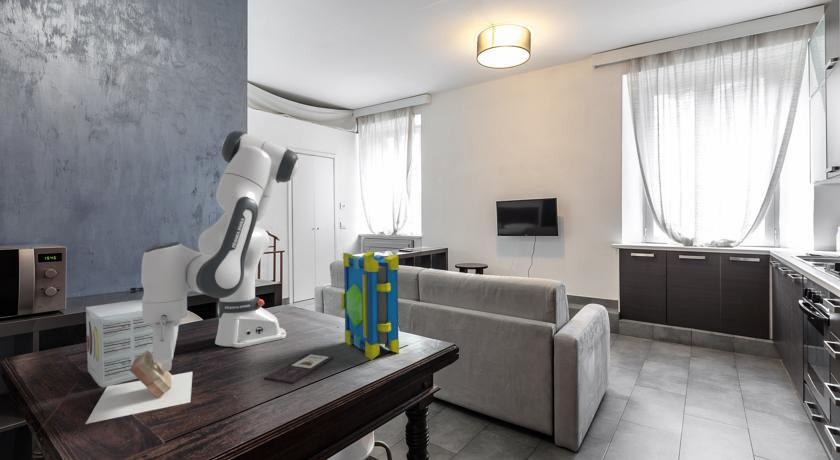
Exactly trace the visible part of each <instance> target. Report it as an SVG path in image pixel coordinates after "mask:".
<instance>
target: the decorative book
mask: <svg viewBox="0 0 840 460" xmlns="http://www.w3.org/2000/svg"><path fill="white" fill-rule="evenodd" d="M342 258H343V261H342V262H343V266H344V267H343V269H344V273H343V274H344V279H343V280H344V291H343V292H341V291H340V292H341V296H340V297H341V298H340V299H341V302H340V304H341V310H343V309H344V342H345V343H346V344H347V345H348V346H352V345H354V346H356V348H358V349H361V350H363V351H364V356H365V357H366V358H368V359H369V360H370V361H372V360H374V359H375V358H376V357H378V356H379V355H380V350H381V349H380V345H384V348H386V349H387V350H389V351H391V352H393V353H397V354H399V353H400V339H399V294H398V293H399V292H398V291H399V289H398V284H399V283H398V281H399V279H398V271H399V255H398V254H390V255H389V254H388V256H384V255H383V254H382V255H381V254H376V255H375V251H372V250H371V251H370V250H368V251H367V252H366V253H364V254H362V256H359V255H358V256H357V255H356V256H355V255H353V254H351V253H348V252H343V257H342Z"/></svg>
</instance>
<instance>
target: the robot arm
mask: <svg viewBox="0 0 840 460" xmlns="http://www.w3.org/2000/svg"><path fill="white" fill-rule="evenodd" d="M221 156H222V158H223V159H224V161H225V162H226V163H228V164H227V166H226V168H225V170H224V172H223V173H222V176H221V178H220V180H219V183H218V185H217V188H216V194H215V198H216V202H217V203H218V205H219V207H220V208H221V209H222V210H223V211H224V213H223V214H222V215H221V216H220V218H219V219H218V220H217V221H216V222H215V223H214V224H213V225H211V226H210V227H209V228H207V229H206V230H204V231H203V232H201V234H200V235H199V238H198V241H197V243H198V244H197V245H198V250H199V251H197V250H194V249H191V248H189V247H187V246H185V245H184V244H182V243H181V242H178V241H177V242H176V241H175V242H164V243H158V244H154V245H152V246H150V247H148V248H147V249H146V250H145V251H144V253H143V255H142V259H141V276H140V277H141V279H140V280H141V285H142V288H143V296H142V299H141V300H142V316H143V322H145V323H149V324H150V325H149V327H150V328H151V329H153V361H154V363H160V362H161V364H162V371H163V372H165V371H168V372H169V371H171V370H172V364H173V362H172V361H173V359H174V353H175V349H176V344H177V339H178V335H179V334H178V333H179V326H180V325H181V324H182V319H185V318H186V317H187V316H188V297H187V296H188V295H187V294H188V293H190V292H197V293H198V294H199V293H200V294H204V295H206V296H209V297H211V298H214V299H219V300H217V316H218V327H217V333H216V337H215V341H214V344H215V345H218V346H220V347H233V348H237V349H238V348H245V347H249V346H255V345H258V344H264V343H268V342H269V343H270V342H273V341H277V340H282V339H284V338H286V337H287V332H286V330H285V329H284V328H282V327H280V324H279V320H278V318H277V317H276V316H275V315H274V314H273V313H271V312H270V311H268V310H266V309H265V308H263V307H262V306H264V305H265V301H264V299H261V298H259V297H258V296H256V274H257V269H258V266H259V262H260V260H261V258H262V256H263V254H265V252H267V251H268V249H269V247H270V243H271V242H270V235H269V234H268V232H267V231H266V229H264V228H262V227H257V226H256V224H257V223H258V222H259V221H261V220H262V219H263V218H264V216H265V214H266V212H267V210H268V206H269V203H270V201H271V197H272V194H273V191H274V189H275V188H274V187H275V184H276V183H277V184H280V183H287V182H290V181H291V180H292V179H293V178H294V177H295V175H296V174H297V171H298V169H299V157H298V155H297V153H295V152H294V151H293V150H291V149H290V148H287V149H286V148H285V147H284V146H281V145H279V144H277V143H275V142H274V141H271V140H269V139H264V138H261V137H258V136H255V135H251V134H249V133H248V134H247V132H244V131H239V130H233V131H230V132H229V133H227V136H226V137H225V138H224V140H223V141H222V146H221Z"/></svg>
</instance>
